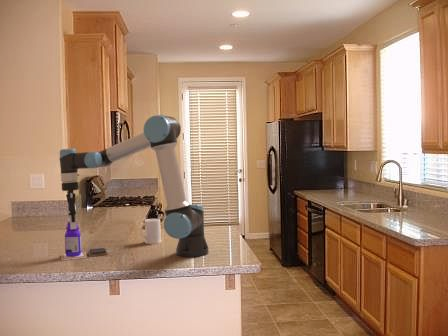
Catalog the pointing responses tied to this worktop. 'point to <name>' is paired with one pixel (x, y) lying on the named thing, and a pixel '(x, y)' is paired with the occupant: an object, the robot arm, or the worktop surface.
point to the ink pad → (97, 252)
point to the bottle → (72, 241)
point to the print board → (65, 257)
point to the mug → (152, 231)
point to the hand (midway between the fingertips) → (73, 226)
